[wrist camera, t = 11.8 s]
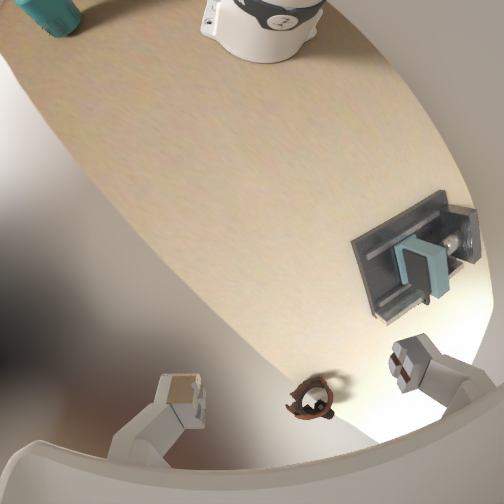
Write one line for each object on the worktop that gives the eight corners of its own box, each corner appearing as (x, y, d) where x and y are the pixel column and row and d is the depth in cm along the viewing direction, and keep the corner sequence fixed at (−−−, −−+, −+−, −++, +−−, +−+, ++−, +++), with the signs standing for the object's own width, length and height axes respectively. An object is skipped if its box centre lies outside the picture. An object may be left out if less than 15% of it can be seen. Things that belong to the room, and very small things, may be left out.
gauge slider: (405, 302, 47) (436, 323, 38) (393, 245, 44) (429, 260, 35) (423, 290, 48) (454, 307, 38) (412, 233, 44) (448, 245, 35)
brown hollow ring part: (271, 402, 51) (284, 412, 43) (295, 365, 54) (312, 369, 46) (314, 425, 51) (332, 435, 43) (336, 389, 54) (356, 395, 47)
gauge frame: (372, 315, 49) (400, 338, 39) (350, 241, 44) (382, 255, 35) (451, 257, 50) (481, 269, 40) (439, 189, 45) (474, 194, 36)
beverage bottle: (91, 14, 27) (51, -48, 7) (73, 43, 28) (20, -12, 9) (65, 15, 25) (20, -38, 6) (48, 43, 26) (-8, -3, 7)
